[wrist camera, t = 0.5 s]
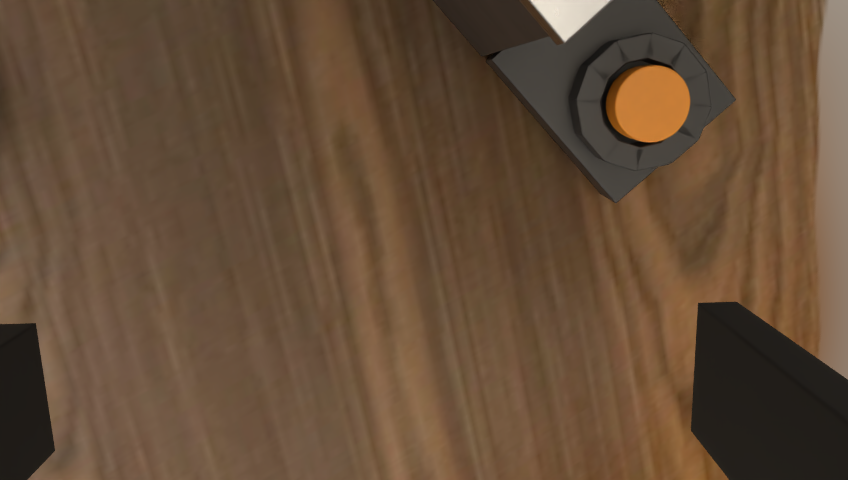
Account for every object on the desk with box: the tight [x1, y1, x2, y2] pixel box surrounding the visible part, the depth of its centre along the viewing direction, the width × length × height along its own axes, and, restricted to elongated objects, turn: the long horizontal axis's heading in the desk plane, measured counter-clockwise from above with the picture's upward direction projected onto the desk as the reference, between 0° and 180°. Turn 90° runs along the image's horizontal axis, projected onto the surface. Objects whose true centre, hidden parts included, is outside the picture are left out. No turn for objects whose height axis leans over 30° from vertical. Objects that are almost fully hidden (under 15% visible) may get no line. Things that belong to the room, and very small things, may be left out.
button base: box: [486, 0, 736, 203], centre depth 38 cm, size 10×8×5 cm
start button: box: [606, 65, 690, 142], centre depth 35 cm, size 4×4×2 cm
